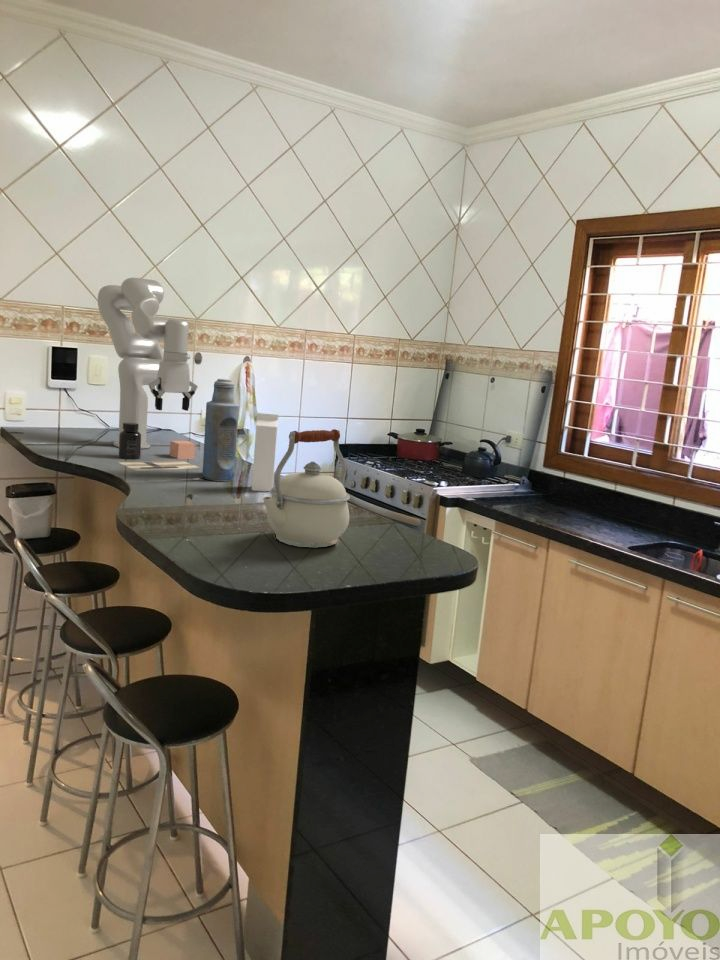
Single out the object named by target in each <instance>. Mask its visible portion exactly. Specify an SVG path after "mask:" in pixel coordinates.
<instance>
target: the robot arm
mask: <svg viewBox="0 0 720 960" xmlns="http://www.w3.org/2000/svg"><path fill="white" fill-rule="evenodd" d="M164 295H165V292H164V287H163V286H162V284H161V283H160V282H159V281H157V280H154V279H147V278H143V277H142V278H141V277H129V278H128V277H127V278H126V279H125V280H123V281H122V283H121V285H117V284H110V285H105V286H102V287H101V288H100V289H99V291H98V294H97V306H98V307H97V308H98V311H99V313H100V316H101V319H103V321H104V323H105V325H106V327H107V329H108V331H109V334H110V339H111V341H112V344H113V348H114V349H115V352H116V354H117V357H119V358H120V359H122V360H121V361H120V362H119V363H118V366H117V369H118V371H117V373H118V379H119V415H118V419H119V420H118V422H119V423H118V435H117V436H118V438H117V439H118V440H116V441H113V446H115V447H117V448H119V434H120V432H122V431H123V423H137V424H138V428H139V429H138V432H140V434H141V450H142V449H143V450H144V449H149V448H150V447H151V444H150V443H149V442H147V429H148V426H147V425H148V408H149V407H148V406H149V398H148V394H147V392H146V390H145V389H144V387H143V386H148V388H149V390H150V392H151V394H152V395H153V397H154V400H155V401H154V407H155V410H157V411H162V410H163V401H164V399H163V398H162V397H163V396H164V395H165V393H168V394H169V393H171V394H172V393H173V394H178V393H179V394H181V395H182V396H183V397H182V399H181V400H182V401H181V402H182V403H181V410H183V411H189V409H190V400H191V399H192V397H193V396H194V395H195V394H196V391H197V389H198V388H199V387H198V385H197V384H196V383H194V382H192V381H191V380H190V379H191V378H190V374H191V373H190V367H189V366H190V364H189V363H188V360H190V359H191V355H190V354H188V346H189V345H188V344H189V334H190V333H189V330H190V324H189V322H188V321H186V320H183V319H177V318H172V317H163V316H155V315H156V314H157V313H158V311H159V309H160V304H161V303H162V301H163V299H164V297H165V296H164ZM122 311H127V312H128V311H130V312H132V313H131V319H130V318H129V317H128V316H127V315H126V314H125V313H123V312H122ZM160 341H163V342H164V343H163V349H162V347H161V344H160ZM190 387H191V388H190Z"/></svg>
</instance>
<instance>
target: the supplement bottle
mask: <svg viewBox="0 0 720 960" xmlns="http://www.w3.org/2000/svg"><path fill="white" fill-rule="evenodd" d="M138 429H139V428H138V424H137V423H123V431H122V432H120V434H119V433H118V434H119V436H118V438H119V447H118V458H119V459H120V460H121V459H123V460H130V461H131V460H135V461H136V460H140V459H141V455H142V454H141V453H142V451H141V450H142V449H141V434H140V432H138Z"/></svg>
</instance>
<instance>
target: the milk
mask: <svg viewBox="0 0 720 960" xmlns="http://www.w3.org/2000/svg"><path fill="white" fill-rule="evenodd" d="M278 427H279V415H278V414H271V413H261V412H258V413H257V415H256V423H255V434H254V435H255V439H254V451H253V465H252V468H253V469H252V477H251V478H252V480H251V491H255V492H266V491H270V490H271V488H273V487H274V486H273V485H274V476H275V464H276V449H277V438H278Z"/></svg>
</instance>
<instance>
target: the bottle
mask: <svg viewBox="0 0 720 960" xmlns="http://www.w3.org/2000/svg"><path fill="white" fill-rule="evenodd" d="M234 391H235V383H234V382H233V381H232V380H231V379H227V378H226V379H225V378H217V379H216V381H214V383H213V393H212V396H211V397H212V398H211V400H210V401H206V405H205V420H204V422H205V424H204V439H203V440H204V441H203V456H202V475H201V476H203V477H202V478H203V479H205V480H207V481H208V480H209V481H213V482H229V481H233V480H234V479H235V470H236V462H237V461H236V459H237V458H236V457H237V443H238V428H239V426H238V425H239V412H240V405H239V403H235V402H234V401H235V395H234Z"/></svg>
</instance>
